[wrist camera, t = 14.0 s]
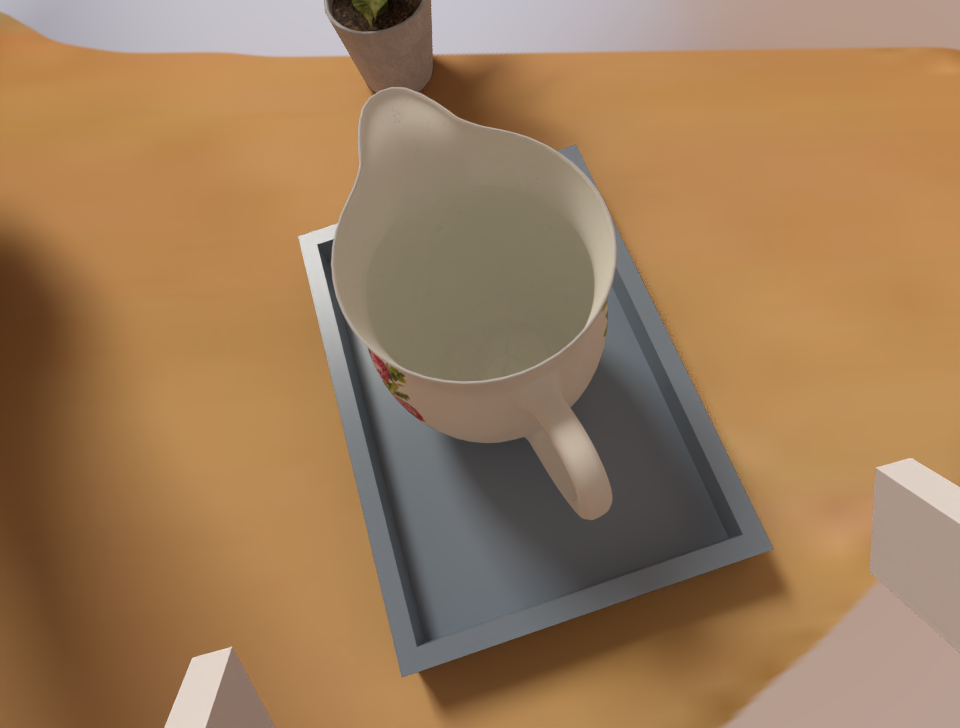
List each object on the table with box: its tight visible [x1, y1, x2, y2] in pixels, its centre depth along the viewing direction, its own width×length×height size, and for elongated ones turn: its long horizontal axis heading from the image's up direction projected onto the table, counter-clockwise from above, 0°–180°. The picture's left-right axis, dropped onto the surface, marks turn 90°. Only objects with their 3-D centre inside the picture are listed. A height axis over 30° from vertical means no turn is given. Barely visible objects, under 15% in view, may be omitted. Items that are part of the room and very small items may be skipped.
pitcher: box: [331, 87, 617, 520], centre depth 26 cm, size 11×18×14 cm, turn 27°
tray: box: [298, 144, 773, 677], centre depth 32 cm, size 25×18×3 cm
